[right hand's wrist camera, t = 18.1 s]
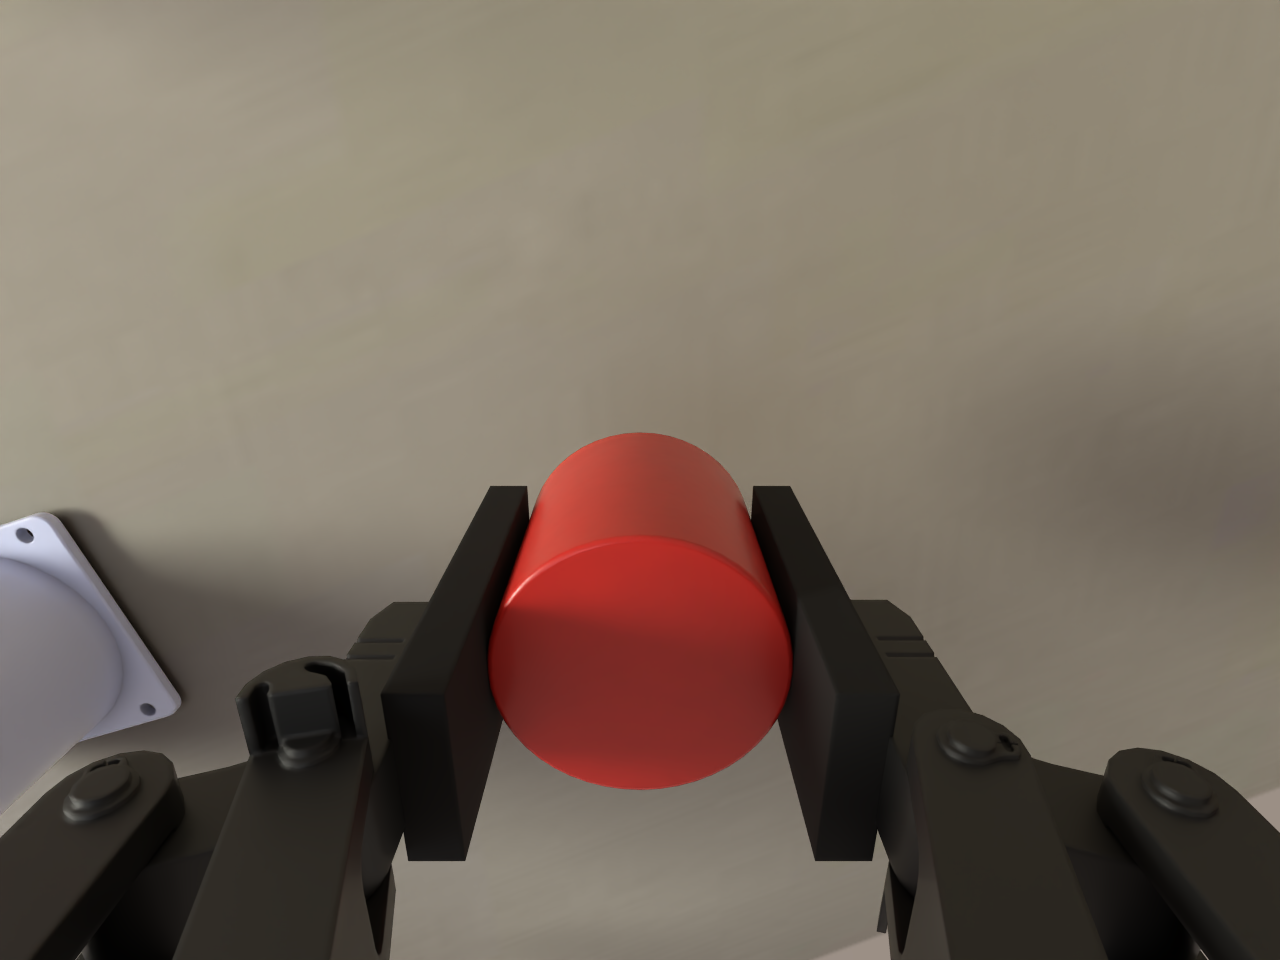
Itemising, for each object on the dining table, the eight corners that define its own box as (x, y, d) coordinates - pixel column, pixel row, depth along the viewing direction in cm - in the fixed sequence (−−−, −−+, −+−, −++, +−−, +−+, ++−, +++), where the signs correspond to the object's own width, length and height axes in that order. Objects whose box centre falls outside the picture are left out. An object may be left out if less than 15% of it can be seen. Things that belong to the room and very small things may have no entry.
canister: (777, 461, 14) (840, 578, 10) (712, 645, 16) (740, 816, 12) (556, 406, 14) (517, 503, 9) (513, 601, 16) (462, 761, 11)
